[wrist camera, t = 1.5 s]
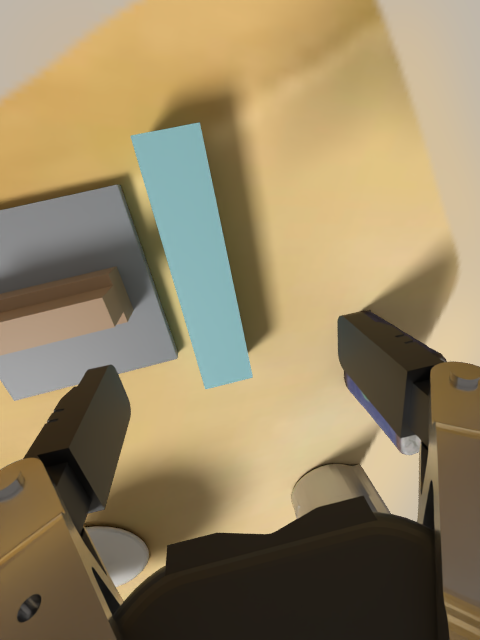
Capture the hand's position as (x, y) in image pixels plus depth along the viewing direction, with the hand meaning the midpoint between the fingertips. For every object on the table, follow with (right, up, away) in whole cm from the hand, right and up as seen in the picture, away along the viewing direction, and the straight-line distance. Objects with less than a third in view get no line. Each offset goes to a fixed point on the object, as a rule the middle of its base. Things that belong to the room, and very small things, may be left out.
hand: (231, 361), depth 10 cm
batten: (-3, +6, +13) cm, 15 cm away
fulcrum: (-14, +3, +13) cm, 19 cm away
